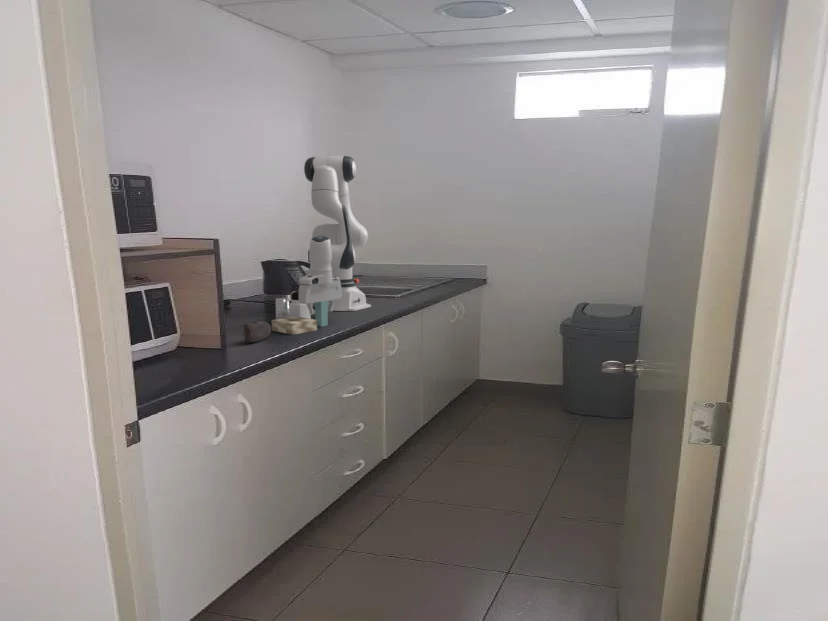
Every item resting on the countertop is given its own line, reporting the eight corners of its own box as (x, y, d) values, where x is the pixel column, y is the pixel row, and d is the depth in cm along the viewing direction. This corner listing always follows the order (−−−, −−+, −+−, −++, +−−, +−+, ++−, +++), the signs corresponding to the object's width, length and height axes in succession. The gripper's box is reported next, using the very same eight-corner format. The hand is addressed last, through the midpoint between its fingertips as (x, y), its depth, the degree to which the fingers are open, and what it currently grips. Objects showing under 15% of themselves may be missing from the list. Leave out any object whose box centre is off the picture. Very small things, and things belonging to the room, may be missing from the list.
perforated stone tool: (264, 336, 230) (264, 317, 229) (276, 337, 228) (276, 318, 227) (238, 344, 216) (237, 324, 215) (251, 345, 214) (250, 325, 213)
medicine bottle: (311, 319, 264) (310, 291, 262) (299, 322, 258) (299, 293, 256) (298, 317, 268) (297, 289, 266) (286, 320, 262) (285, 291, 260)
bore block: (296, 326, 249) (296, 316, 248) (316, 330, 242) (316, 319, 241) (271, 330, 240) (271, 320, 239) (292, 334, 232) (292, 324, 232)
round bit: (284, 322, 258) (283, 297, 256) (292, 323, 254) (292, 299, 253) (273, 323, 254) (272, 299, 252) (282, 325, 250) (281, 300, 249)
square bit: (321, 324, 254) (321, 299, 252) (327, 325, 252) (327, 300, 250) (315, 325, 251) (315, 300, 250) (321, 326, 249) (321, 301, 248)
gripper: (334, 275, 258) (334, 309, 260) (295, 279, 243) (296, 315, 245) (345, 276, 254) (345, 310, 257) (306, 280, 239) (307, 316, 241)
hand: (321, 312), depth 251 cm, fingers open, 8 cm apart
